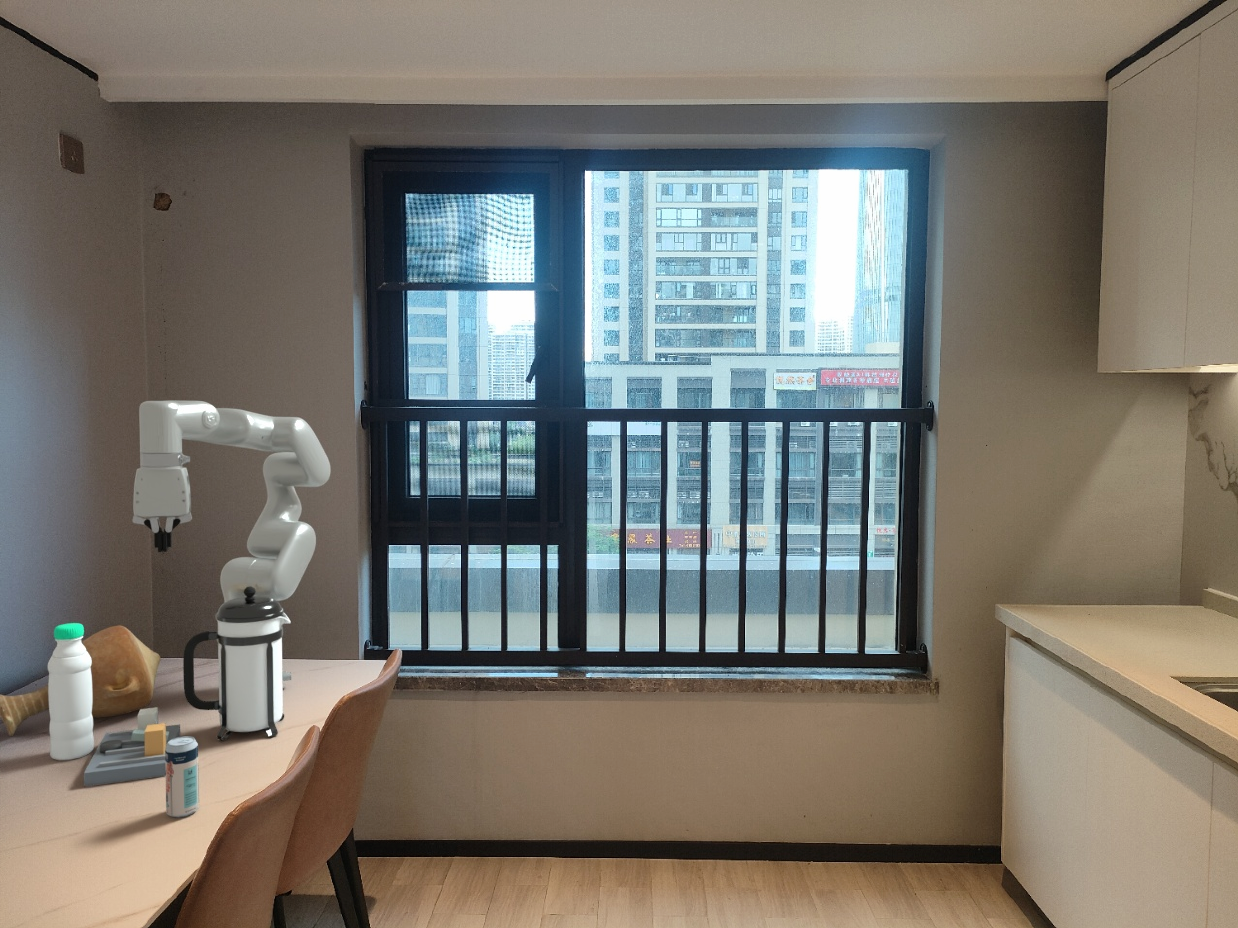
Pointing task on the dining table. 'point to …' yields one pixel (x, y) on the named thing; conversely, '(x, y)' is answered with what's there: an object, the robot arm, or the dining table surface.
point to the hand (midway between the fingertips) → (163, 550)
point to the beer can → (182, 776)
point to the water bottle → (70, 695)
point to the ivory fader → (147, 717)
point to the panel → (125, 759)
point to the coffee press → (244, 665)
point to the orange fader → (155, 739)
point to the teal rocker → (142, 735)
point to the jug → (99, 679)
